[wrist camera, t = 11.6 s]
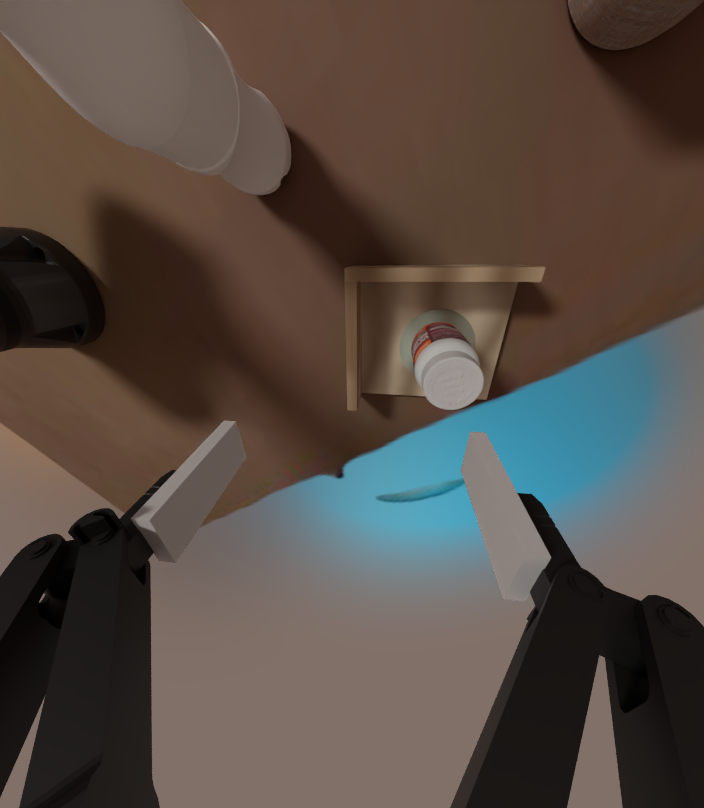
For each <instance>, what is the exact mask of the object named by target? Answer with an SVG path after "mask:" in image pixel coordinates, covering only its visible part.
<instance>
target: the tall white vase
mask: <svg viewBox="0 0 704 808" xmlns="http://www.w3.org/2000/svg"><path fill="white" fill-rule="evenodd" d="M0 32H1V33H2V34H3V35H4V36H5V37H6V38H7V39H8V40H9V41H10V42H11V43H12V45H13V46H14V47H15V48H16V49H17V50H18V51H19V52H20V53H21V54H22V56H23V57H24V58H25V59H26V60H27V61H28V62H29V63H30V64H31V66H32V67H33V68H34V69H35V70H36V71H37V72H38V73H39V74H40V75H41V76H42V77H43V78H44V79H45V80H46V81H47V83H48V84H49V85H50V86H51V87H52V88H53V89H54V90H55V91H56V92H57V93H58V94H59V95H60V96H61V97H62V98H63V99H64V100H65V101H66V102H67V103H68V104H69V105H70V106H71V107H72V108H73V109H75V110H76V111H77V112H78V113H79V114H80V115H81V116H82V117H84V118H85V119H86V120H87V121H89V122H90V123H92V124H93V125H94V126H96V127H97V128H99V129H100V130H101V131H103V132H104V133H106V134H107V135H109V136H111V137H113V138H114V139H116V140H118V141H120V142H122V143H124V144H127V145H129V146H132V147H135V148H143V149H146V150H148V151H150V152H153V153H155V154H158V155H160V156H163V157H165V158H167V159H170V160H172V161H175V162H176V163H177V164H179V165H180V166H182V167H184V168H186V169H189V170H191V171H194V172H196V173H199V174H202V175H216V174H219V175H221V176H222V177H223V178H224V179H225V180H226V181H228V182H229V183H230V184H231V185H233V186H234V187H236V188H237V189H239V190H241V191H244V192H246V193H249V194H253V195H266V194H270V193H272V192H274V191H276V190H277V189H278V188H279V187H280V185H281V183H280V181H281V179H282V178H283V177H284V176H285V175H287V173H288V171H289V169H290V166H291V144H290V139H289V136H288V132H287V130H286V128H285V125H284V123H283V121H282V119H281V117H280V115H279V113H278V111H277V110H276V109H275V107H274V106H273V105H272V103H271V102H270V101H269V100H268V99H267V97H266V96H265V95H264V94H263V93H261V92H260V91H258V90H257V89H254V88H252V87H250V86H249V85H247V84H246V83H245V82H244V81H243V80H242V79H241V77H240V76H239V75H238V73H237V72H236V70H235V69H234V66H233V64H232V62H231V60H230V57H229V55H228V53H227V52H226V50H225V48H224V47H223V45H222V44H221V43H220V41H219V40H218V39H217V38H216V36H215V35H214V34H213V33H212V32H211V31H210V30H209V29H208V28H207V27H206V26H205V25H204V24H203V23H202V22H200V21H199V20H198V19H197V18H196V17H195V16H194V15H193V13H192V12H191V11H190V10H189V9H188V8H187V6H186V5H185V4H184V3H183V2H182V0H0Z"/></svg>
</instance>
